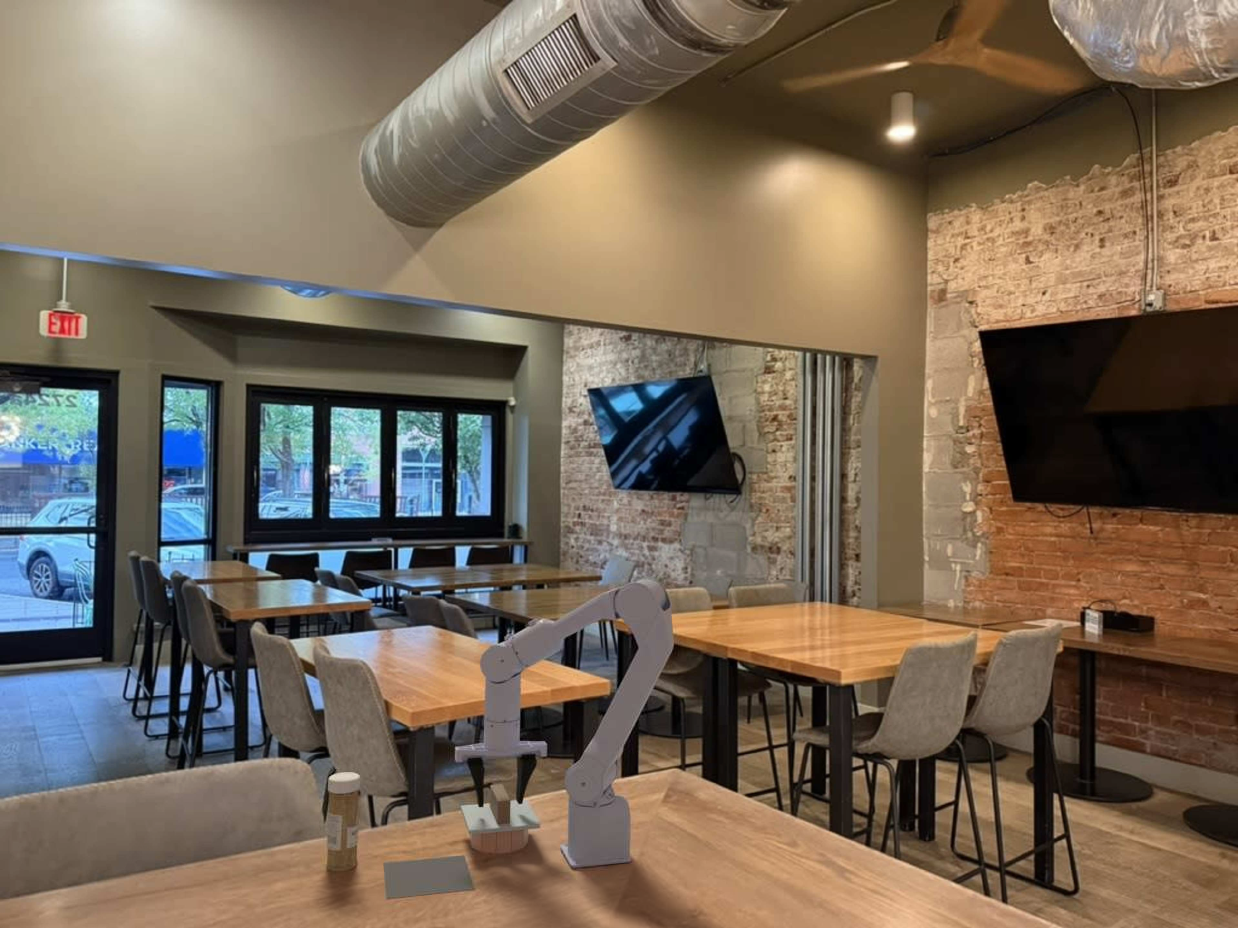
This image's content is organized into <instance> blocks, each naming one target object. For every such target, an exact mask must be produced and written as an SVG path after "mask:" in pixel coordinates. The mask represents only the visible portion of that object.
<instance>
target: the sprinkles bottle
mask: <svg viewBox="0 0 1238 928" xmlns="http://www.w3.org/2000/svg"><path fill="white" fill-rule="evenodd" d="M327 781H328V782H327V791H328V809H327V811H328V812H327V832H326V833H327V836H326V846H327V852H326V853H327V856H326V857H327V859H326V863H325V867H326V869H327V870H328V871H332V872H345V871H348V870H352V869H354V868H355V867H357V865H358V843H359V842H358V841H359V840H358V838H359V837H358V835H359V792H360V788H361V775H360V774H358V773H356V772H351V771H350V772H349V771H348V772H347V771H346V772H344V771H343V772H337V773H334V774H332V775H331V776H329V777H328V780H327Z"/></svg>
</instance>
